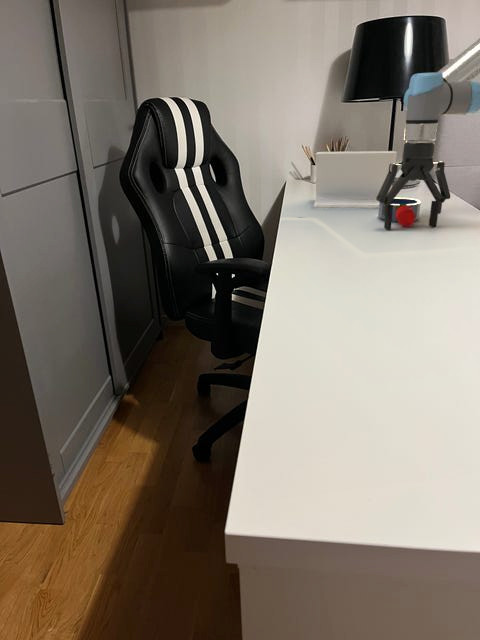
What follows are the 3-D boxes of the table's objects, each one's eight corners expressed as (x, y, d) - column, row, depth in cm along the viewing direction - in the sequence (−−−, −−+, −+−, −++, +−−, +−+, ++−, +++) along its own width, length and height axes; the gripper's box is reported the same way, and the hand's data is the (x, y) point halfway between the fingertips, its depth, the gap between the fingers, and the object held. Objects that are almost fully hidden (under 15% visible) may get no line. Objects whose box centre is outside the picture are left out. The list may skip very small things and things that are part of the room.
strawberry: (415, 229, 135) (406, 211, 140) (420, 216, 132) (410, 198, 136) (398, 231, 135) (390, 213, 139) (403, 218, 131) (394, 200, 135)
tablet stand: (392, 208, 159) (398, 151, 152) (313, 207, 164) (315, 152, 157) (388, 198, 175) (393, 147, 169) (316, 197, 180) (318, 148, 173)
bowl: (408, 214, 150) (409, 197, 148) (425, 221, 140) (427, 203, 138) (372, 216, 149) (373, 199, 147) (387, 224, 139) (388, 205, 137)
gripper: (457, 139, 129) (445, 222, 138) (367, 142, 127) (361, 227, 135) (473, 140, 123) (460, 228, 131) (378, 144, 120) (371, 233, 129)
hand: (410, 227), depth 133 cm, fingers open, 12 cm apart
